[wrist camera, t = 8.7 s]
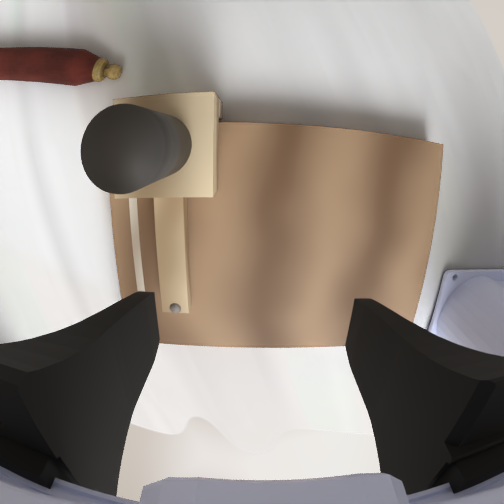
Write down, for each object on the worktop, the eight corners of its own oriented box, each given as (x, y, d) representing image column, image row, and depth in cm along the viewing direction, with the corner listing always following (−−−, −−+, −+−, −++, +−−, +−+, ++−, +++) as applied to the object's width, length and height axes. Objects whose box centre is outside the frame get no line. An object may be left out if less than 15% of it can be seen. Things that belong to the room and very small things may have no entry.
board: (427, 142, 18) (443, 144, 16) (397, 327, 23) (407, 341, 21) (120, 129, 18) (107, 128, 16) (137, 325, 22) (129, 340, 21)
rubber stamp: (222, 102, 17) (196, 67, 8) (221, 293, 21) (205, 389, 12) (140, 107, 17) (58, 86, 8) (149, 290, 21) (97, 377, 12)
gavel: (138, -9, 12) (85, 151, 16) (155, 15, 17) (112, 146, 20) (-61, 13, 9) (-90, 122, 12) (-32, 20, 13) (-59, 118, 16)
